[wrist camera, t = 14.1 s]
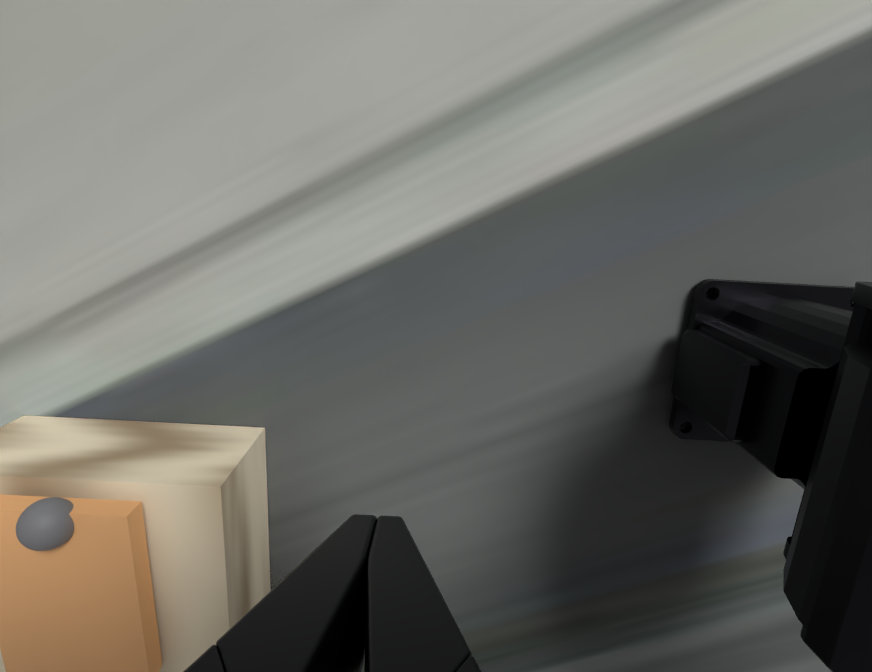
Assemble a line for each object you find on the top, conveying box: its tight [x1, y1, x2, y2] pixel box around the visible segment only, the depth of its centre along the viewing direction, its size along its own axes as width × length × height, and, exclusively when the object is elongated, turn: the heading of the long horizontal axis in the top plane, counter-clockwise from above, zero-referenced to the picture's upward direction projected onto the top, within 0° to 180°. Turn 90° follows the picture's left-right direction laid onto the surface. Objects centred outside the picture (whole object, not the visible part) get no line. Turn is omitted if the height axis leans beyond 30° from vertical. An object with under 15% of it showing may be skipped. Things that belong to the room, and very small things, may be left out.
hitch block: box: [0, 416, 271, 672], centre depth 21 cm, size 10×16×4 cm, turn 177°
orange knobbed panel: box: [0, 494, 162, 672], centre depth 17 cm, size 7×5×2 cm
